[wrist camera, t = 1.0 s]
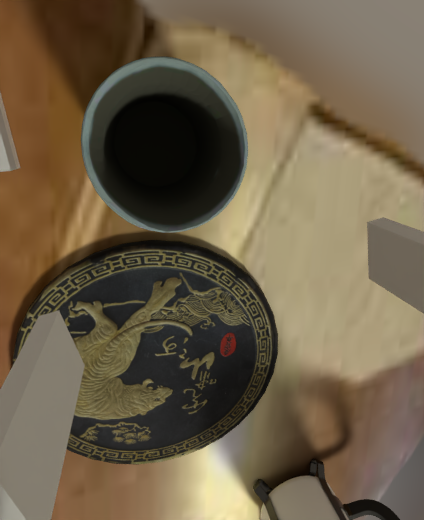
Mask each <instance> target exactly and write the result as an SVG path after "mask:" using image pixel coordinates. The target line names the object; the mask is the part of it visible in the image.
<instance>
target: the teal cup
mask: <svg viewBox="0 0 424 520" xmlns="http://www.w3.org/2000/svg"><path fill="white" fill-rule="evenodd" d="M81 146H82V156H83V160H84V165H85V168H86V171H87V173H88V176H89V179H90V180H91V182H92V184H93V186H94V188H95V190H96V192H97V193H98V194H99V196H100V197H101V198H102V200H103V201H104V202H105V203H106V204H107V205H108V206H109V207H110V208H111V209H112V210H113V211H115V212H116V213H117V214H118V215H119V216H121V217H122V218H123V219H125V220H126V221H128V222H130V223H132V224H134V225H136V226H138V227H141V228H144V229H147V230H151V231H157V232H181V231H186V230H189V229H193V228H196V227H198V226H200V225H202V224H205V223H207V222H208V221H210V220H211V219H213V218H214V217H215V216H217V215H218V214H219V213H220V212H221V211H222V210H223V209H224V208H225V207H226V206H227V205H228V204H229V203H230V201H231V200H232V199H233V198H234V196H235V194H236V192H237V191H238V189H239V187H240V185H241V182H242V179H243V177H244V173H245V170H246V165H247V156H248V142H247V132H246V129H245V125H244V122H243V118H242V115H241V113H240V111H239V109H238V107H237V105H236V103H235V102H234V100H233V99H232V98H231V96H230V95H229V94H228V92H227V91H226V90H225V88H224V87H223V86H222V84H221V83H220V82H219V81H217V80H216V79H215V78H214V77H213V76H211V75H210V74H209V73H208V72H207V71H205V70H203V69H202V68H200V67H198V66H196V65H194V64H192V63H189V62H186V61H183V60H180V59H177V58H171V57H148V58H143V59H139V60H136V61H133V62H131V63H128V64H126V65H124V66H122V67H120V68H119V69H117V70H116V71H114V72H113V73H112V74H111V75H110V76H109V77H108V78H107V79H106V80H105V81H104V82H103V83H102V84H101V85H100V86H99V87H98V89H97V90H96V92H95V93H94V94H93V96H92V98H91V100H90V102H89V104H88V106H87V109H86V112H85V115H84V119H83V124H82V134H81Z"/></svg>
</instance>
